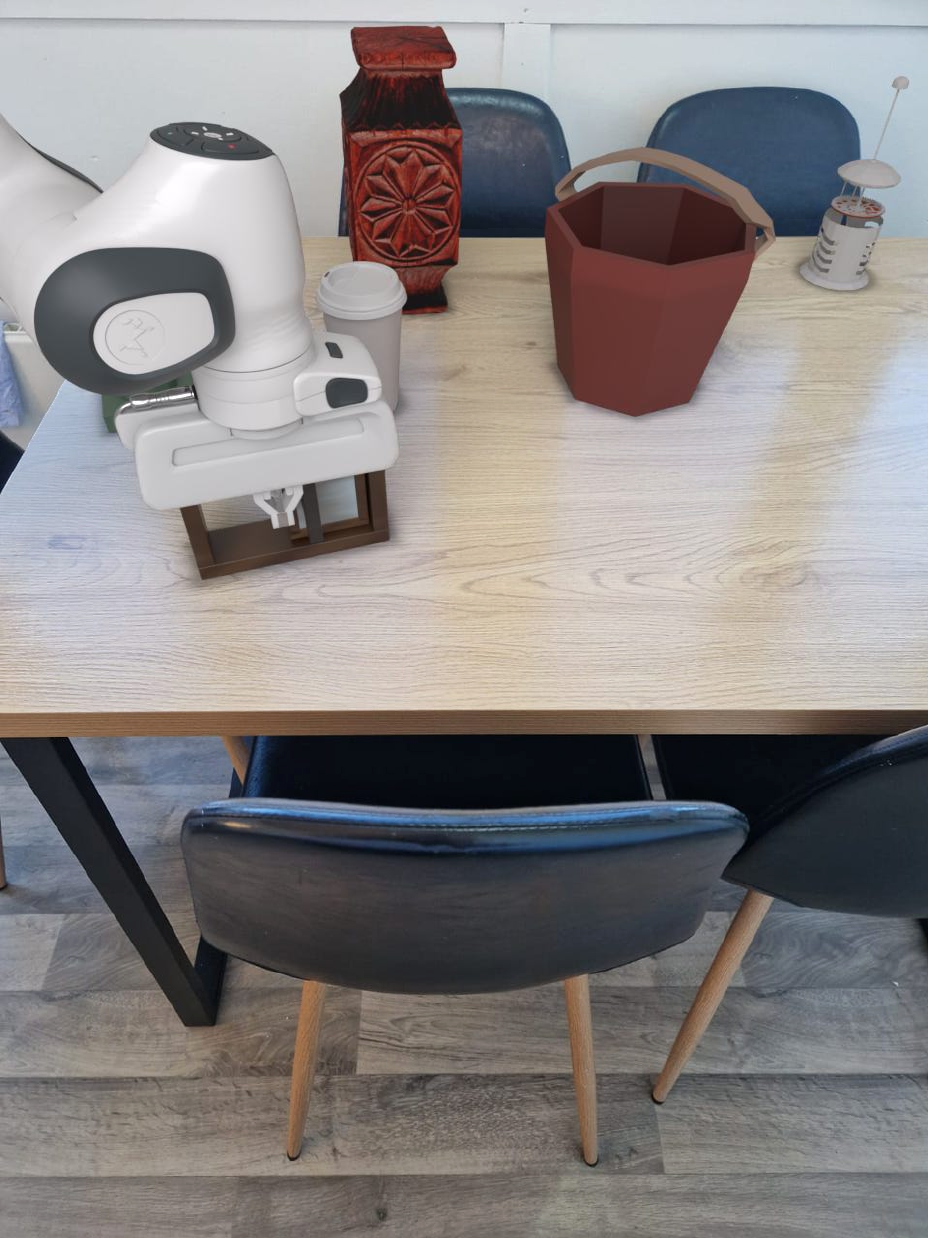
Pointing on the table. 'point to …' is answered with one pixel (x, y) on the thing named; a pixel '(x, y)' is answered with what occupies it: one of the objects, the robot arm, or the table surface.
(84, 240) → the robot arm
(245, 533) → the window frame
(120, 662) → the table surface
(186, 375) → the button block
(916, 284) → the table surface
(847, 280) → the french press
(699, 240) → the bucket
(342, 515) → the sliding window sash
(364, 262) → the coffee cup
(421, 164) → the vase
